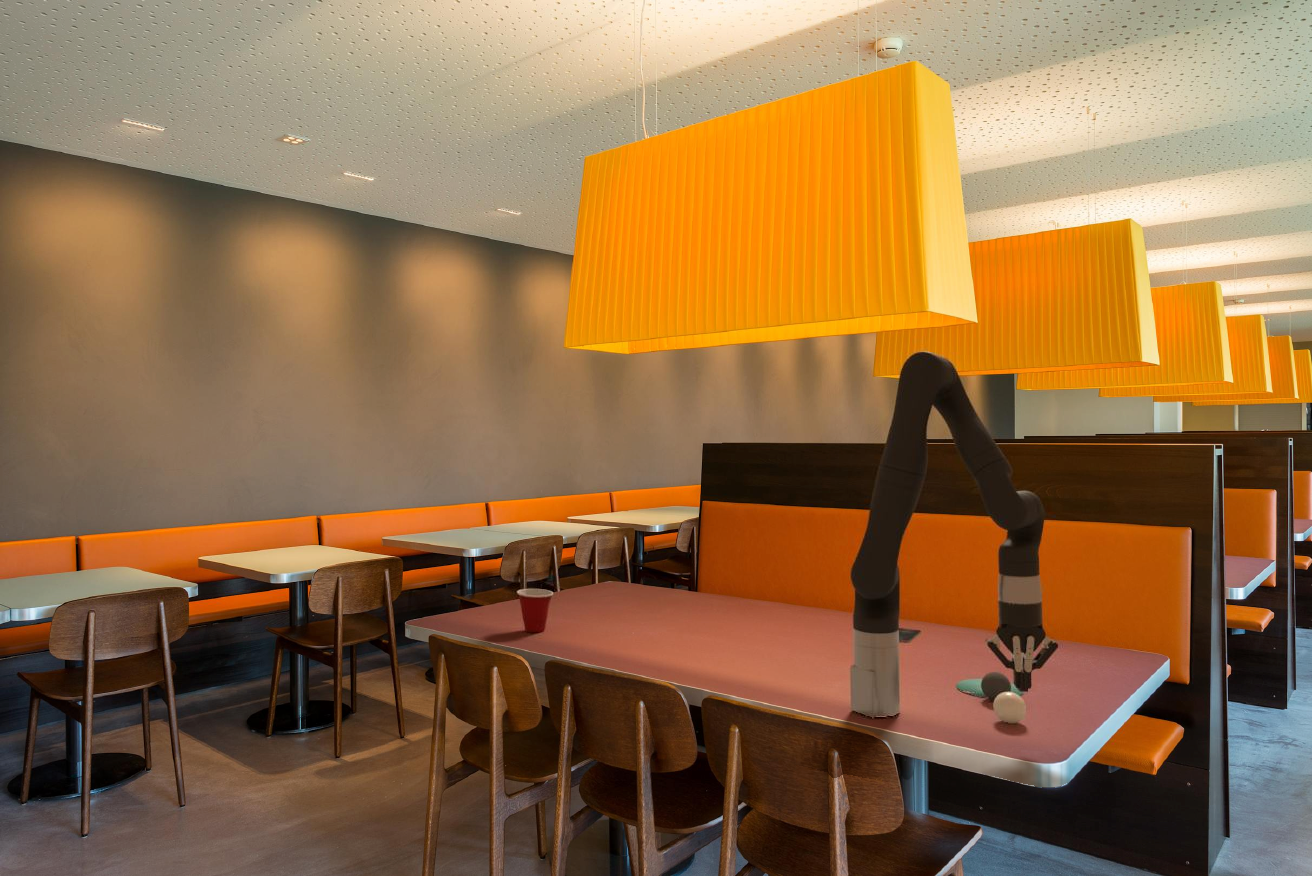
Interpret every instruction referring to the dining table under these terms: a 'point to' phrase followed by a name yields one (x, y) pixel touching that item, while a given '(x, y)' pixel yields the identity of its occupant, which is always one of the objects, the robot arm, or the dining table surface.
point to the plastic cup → (534, 608)
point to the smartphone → (907, 634)
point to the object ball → (995, 684)
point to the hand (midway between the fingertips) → (1022, 690)
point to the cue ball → (1009, 707)
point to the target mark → (979, 687)
